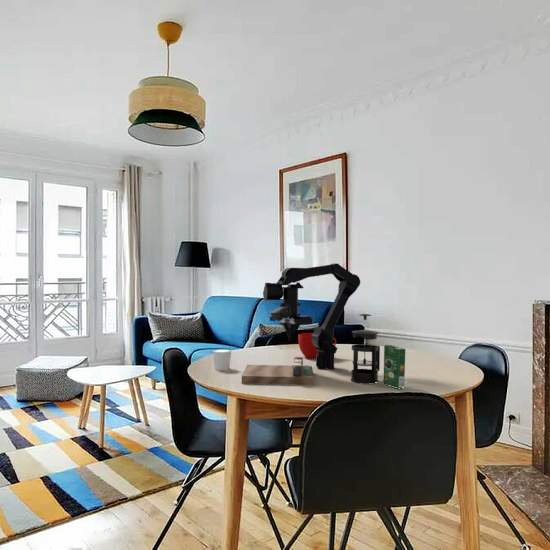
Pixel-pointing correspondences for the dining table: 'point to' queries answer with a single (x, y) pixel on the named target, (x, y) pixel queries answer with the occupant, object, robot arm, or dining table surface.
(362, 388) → the dining table surface
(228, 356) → the white cylinder
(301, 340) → the ceramic cup
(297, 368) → the hinged leg
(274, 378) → the stool seat
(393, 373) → the coffee box
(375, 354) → the french press
